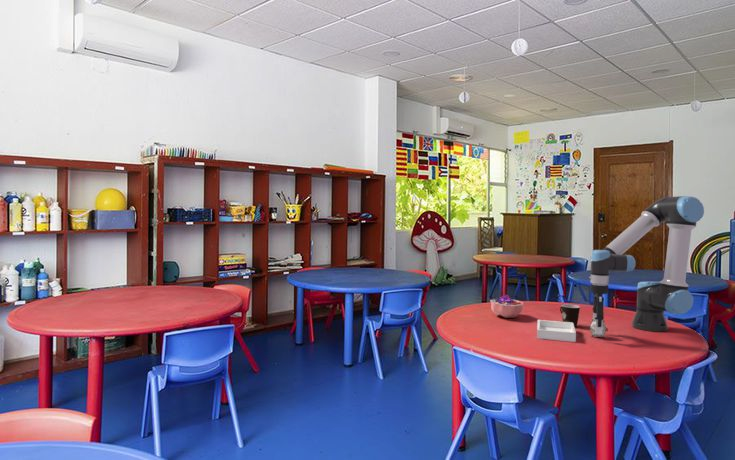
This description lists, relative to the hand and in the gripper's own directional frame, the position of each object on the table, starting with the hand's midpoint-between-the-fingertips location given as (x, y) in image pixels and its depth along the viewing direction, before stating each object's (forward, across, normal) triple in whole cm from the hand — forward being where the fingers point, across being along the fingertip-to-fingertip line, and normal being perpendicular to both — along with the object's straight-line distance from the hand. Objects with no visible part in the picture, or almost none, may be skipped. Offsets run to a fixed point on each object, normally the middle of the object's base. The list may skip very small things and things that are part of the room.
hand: (597, 330), depth 222 cm
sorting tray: (+3, +2, -18) cm, 18 cm away
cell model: (+4, -28, -42) cm, 50 cm away
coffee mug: (+3, -20, -11) cm, 23 cm away
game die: (+3, 0, 0) cm, 3 cm away
